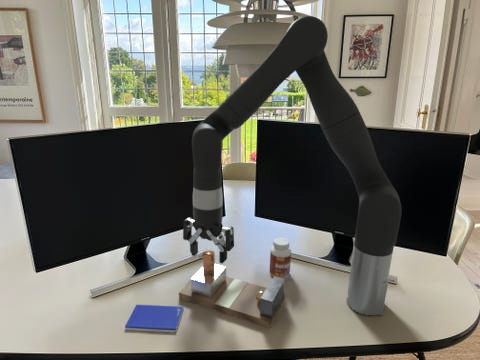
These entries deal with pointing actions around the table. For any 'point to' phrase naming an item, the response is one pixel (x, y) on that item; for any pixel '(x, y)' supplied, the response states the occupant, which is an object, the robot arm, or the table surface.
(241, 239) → the table surface
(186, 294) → the board
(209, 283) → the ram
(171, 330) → the hard drive
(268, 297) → the grey block with knob
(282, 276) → the pill bottle
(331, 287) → the table surface
